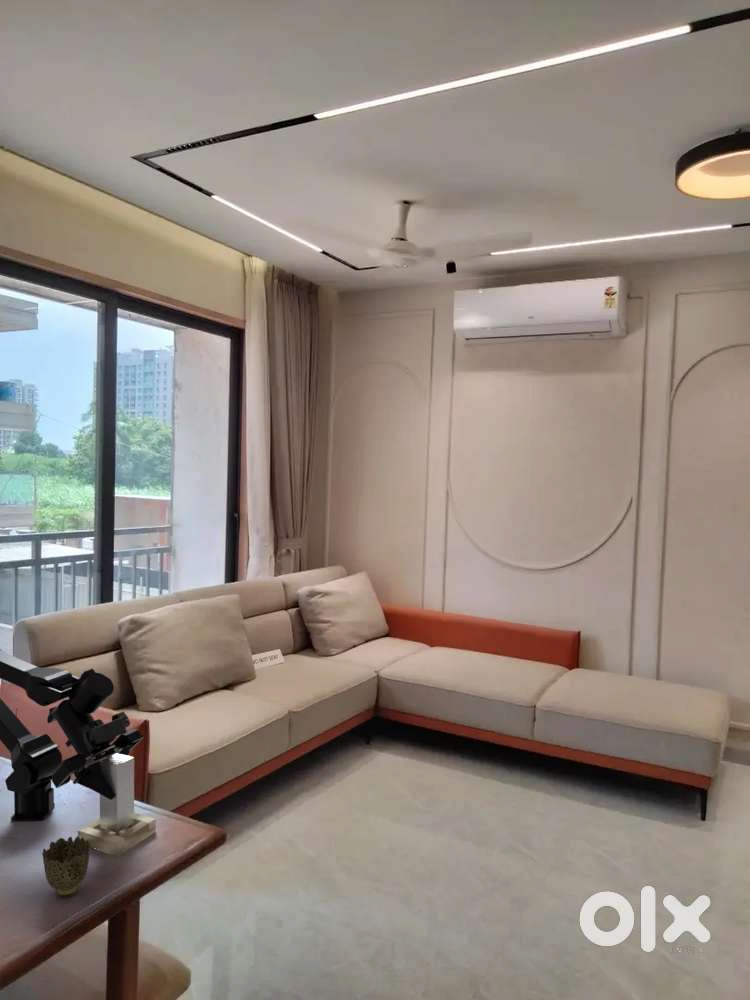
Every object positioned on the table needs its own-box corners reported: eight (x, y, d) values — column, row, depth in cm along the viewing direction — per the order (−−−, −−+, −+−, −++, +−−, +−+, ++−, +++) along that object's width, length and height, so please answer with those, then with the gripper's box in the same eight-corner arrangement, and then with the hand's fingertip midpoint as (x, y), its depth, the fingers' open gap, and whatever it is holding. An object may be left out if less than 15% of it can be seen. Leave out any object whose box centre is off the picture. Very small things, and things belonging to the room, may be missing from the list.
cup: (73, 909, 119) (72, 861, 118) (33, 903, 120) (32, 856, 120) (99, 883, 126) (99, 838, 125) (61, 878, 127) (60, 833, 127)
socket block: (78, 845, 139) (77, 830, 139) (117, 822, 148) (117, 807, 148) (117, 858, 134) (117, 842, 134) (155, 833, 143) (155, 818, 143)
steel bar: (99, 827, 140) (99, 761, 139) (116, 817, 144) (116, 753, 143) (117, 832, 138) (117, 765, 137) (134, 822, 142) (134, 757, 141)
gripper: (62, 718, 133) (108, 790, 129) (136, 689, 150) (178, 752, 146) (31, 752, 137) (75, 823, 133) (107, 720, 153) (147, 782, 149)
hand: (122, 793), depth 140 cm, fingers closed on steel bar, 4 cm apart
